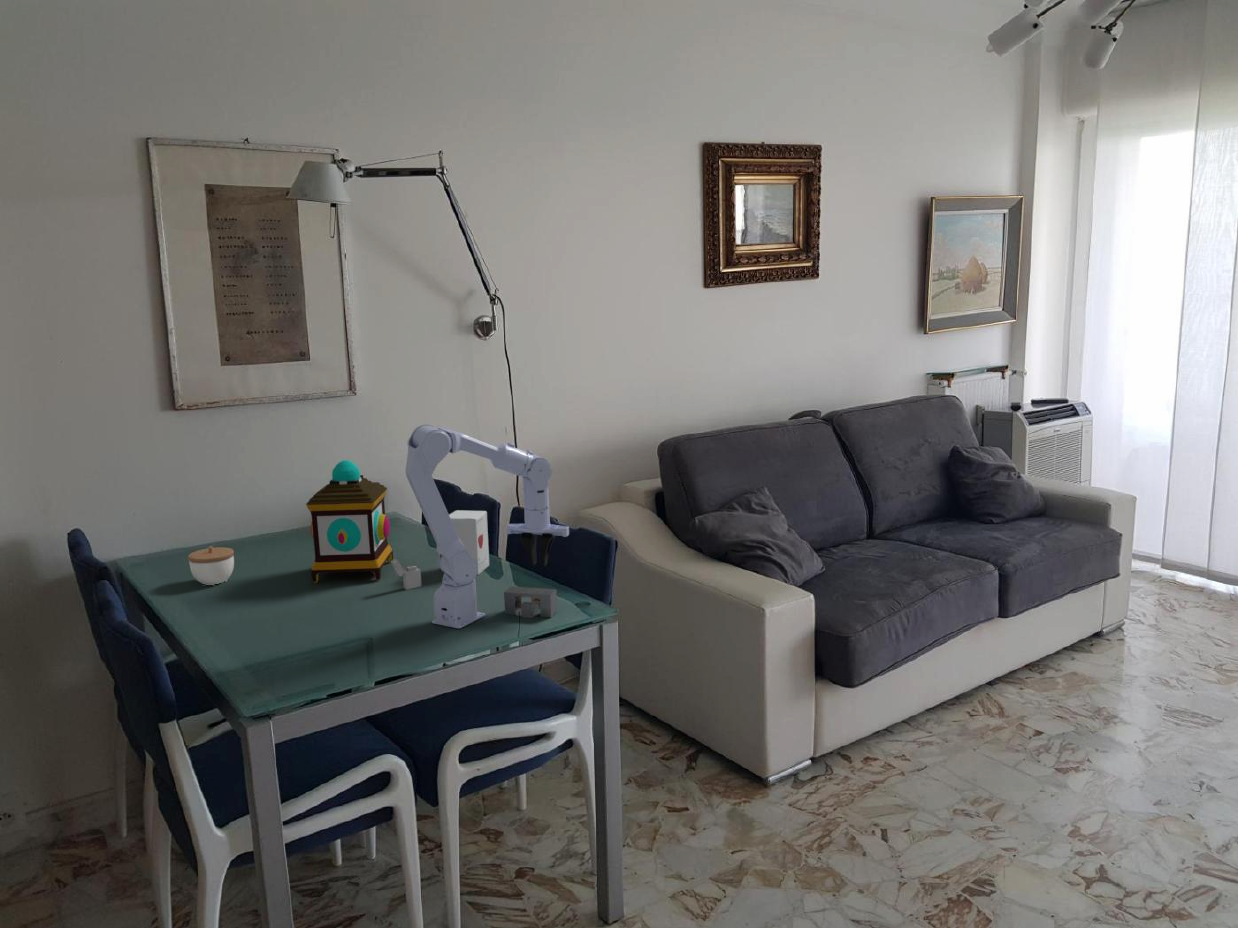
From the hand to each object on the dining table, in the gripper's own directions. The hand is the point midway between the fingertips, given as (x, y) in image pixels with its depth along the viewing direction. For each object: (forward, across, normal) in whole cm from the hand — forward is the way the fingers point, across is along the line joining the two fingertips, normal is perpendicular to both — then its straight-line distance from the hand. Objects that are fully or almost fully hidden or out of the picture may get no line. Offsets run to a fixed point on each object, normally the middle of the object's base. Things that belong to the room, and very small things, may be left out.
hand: (539, 564), depth 220 cm
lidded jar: (+10, +88, 0) cm, 89 cm away
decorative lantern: (+10, +57, -14) cm, 59 cm away
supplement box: (+10, +28, -22) cm, 36 cm away
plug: (+9, 0, +4) cm, 10 cm away
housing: (+9, 0, +6) cm, 11 cm away
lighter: (+10, +36, -4) cm, 38 cm away
